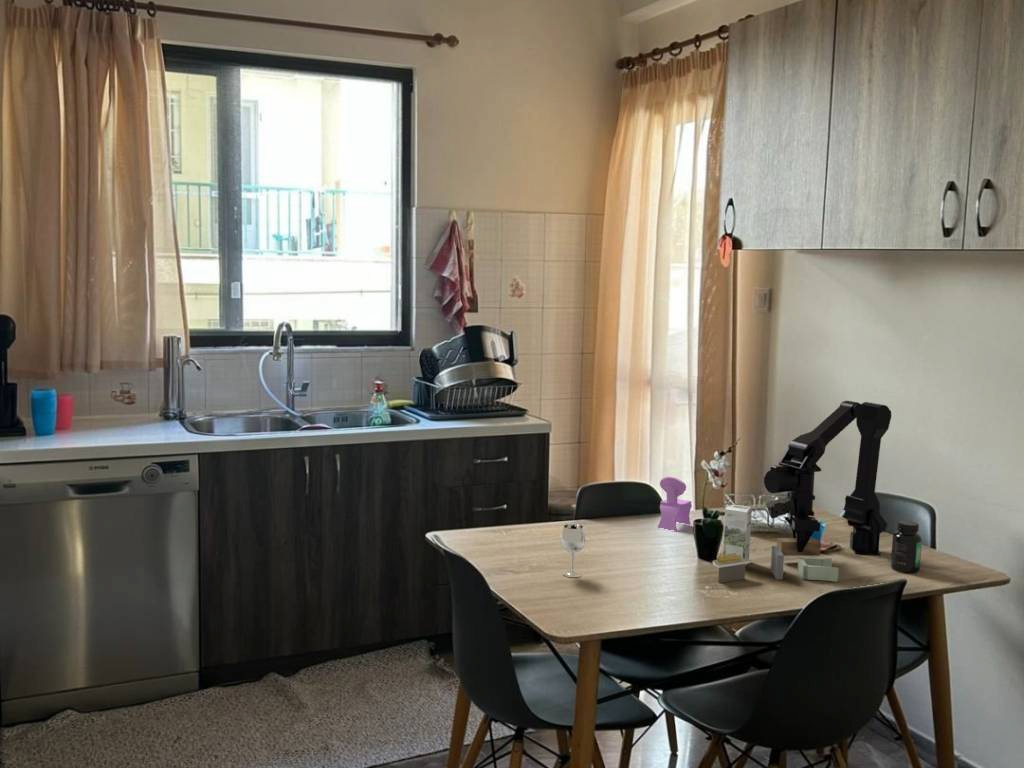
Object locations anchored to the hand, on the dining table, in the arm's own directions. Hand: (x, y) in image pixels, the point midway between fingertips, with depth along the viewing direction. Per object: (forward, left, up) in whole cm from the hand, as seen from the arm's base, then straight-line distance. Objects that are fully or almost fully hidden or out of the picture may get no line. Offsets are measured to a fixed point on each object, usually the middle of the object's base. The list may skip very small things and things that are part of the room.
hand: (798, 549), depth 257 cm
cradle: (-3, +11, -3) cm, 12 cm away
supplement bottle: (-26, +2, -4) cm, 26 cm away
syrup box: (+16, +3, -4) cm, 17 cm away
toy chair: (+29, -30, -4) cm, 42 cm away
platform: (+19, +17, -4) cm, 26 cm away
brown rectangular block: (0, 0, -1) cm, 1 cm away
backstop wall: (+7, +11, -3) cm, 14 cm away
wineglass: (+57, +19, -4) cm, 60 cm away
